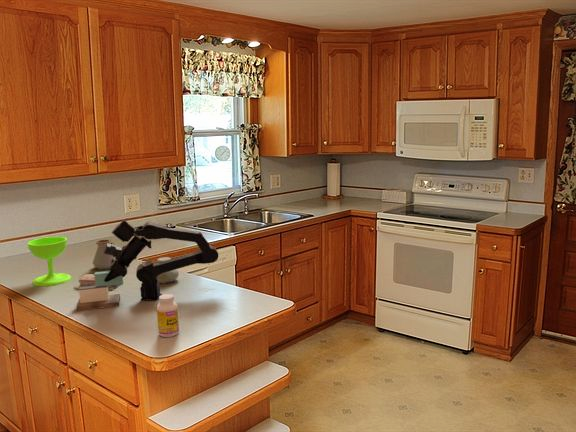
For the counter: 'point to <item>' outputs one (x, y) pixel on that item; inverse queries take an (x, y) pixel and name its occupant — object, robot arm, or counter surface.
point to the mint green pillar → (101, 277)
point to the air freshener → (167, 273)
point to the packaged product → (91, 282)
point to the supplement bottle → (167, 316)
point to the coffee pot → (102, 256)
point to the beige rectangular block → (93, 293)
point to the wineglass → (49, 259)
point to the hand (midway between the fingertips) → (105, 280)
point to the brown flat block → (100, 303)
